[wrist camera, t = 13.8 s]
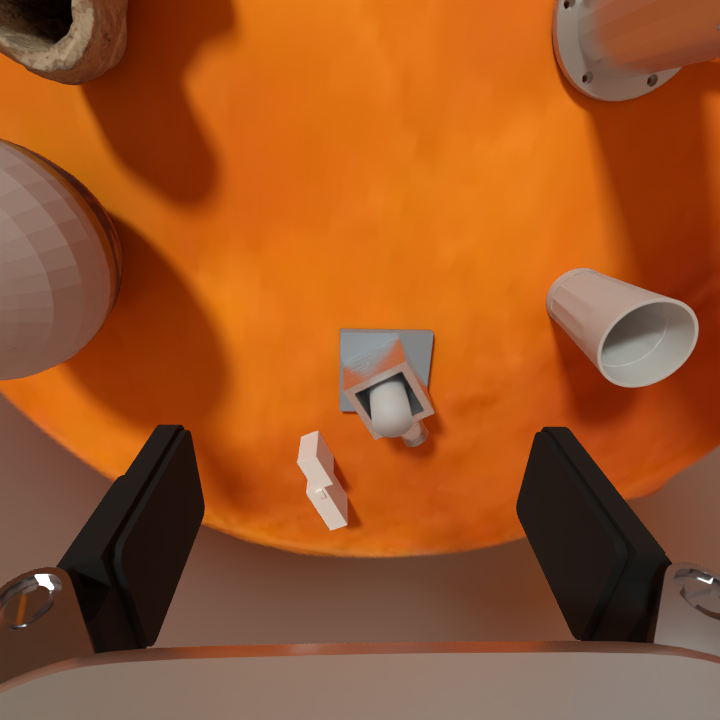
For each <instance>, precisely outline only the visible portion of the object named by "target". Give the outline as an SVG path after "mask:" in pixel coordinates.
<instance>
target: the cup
mask: <svg viewBox="0 0 720 720" xmlns="http://www.w3.org/2000/svg"><path fill="white" fill-rule="evenodd" d="M546 308H547V312H548V314H549V316H550V317H551V318H552V319H553V320H554V321H555V322H557V323H558V324H559V326H560V327H561V328H562V329H563V330H564V331H565V332H566V333H567V335H568V336H569V337H570V338H571V339H572V340H573V341H574V342H575V344H576V345H577V346H578V347H579V348H580V349H581V350H582V351H583V352H584V354H585V355H586V356H587V357H588V358H589V359H590V360H591V362H592V363H593V364H594V365H595V366H596V368H597V369H598V370H599V371H600V372H601V373H602V375H603V376H604V377H605V378H606V379H607V380H609V381H610V382H612V383H613V384H616V385H618V386H622V387H631V388H634V387H643V386H647V385H651V384H654V383H656V382H658V381H661V380H663V379H664V378H666V377H668V376H669V375H671V374H672V373H673V372H675V371H676V370H677V369H678V368H679V367H680V366H681V365H682V364H683V363H684V362H685V361H686V360H687V359H688V357H689V356H690V354H691V353H692V351H693V349H694V347H695V345H696V342H697V338H698V332H699V326H698V320H697V317H696V315H695V313H694V312H693V310H692V309H691V308H690V307H689V306H688V305H686V304H685V303H683V302H681V301H678V300H675V299H672V298H669V297H666V296H663V295H660V294H657V293H654V292H651V291H648V290H646V289H643V288H640V287H637V286H634V285H632V284H629V283H626V282H623V281H620V280H618V279H615V278H612V277H609V276H606V275H603V274H601V273H599V272H597V271H595V270H592V269H589V268H578V269H574V270H571V271H568V272H566V273H565V274H563V275H562V276H560V277H559V278H558V279H557V280H556V281H555V282H554V283H553V285H552V286H551V288H550V289H549V292H548V294H547V298H546Z"/></svg>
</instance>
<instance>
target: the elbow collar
mask: <svg viewBox="0 0 720 720" xmlns="http://www.w3.org/2000/svg"><path fill="white" fill-rule="evenodd" d="M401 371H402V372H403V374H404V376H405V377H406V379H407V381H408V383H409V384H408V385H406V386H405V389H406V393H407V397H408V401H409V405H410V409H411V413H412V418H413V422H412V426H411V428H410V429H409V430H408V431H407V432H406V433H405V434H403V435H401V436H400V438H401V439H402V441H403V443H404V444H405V445H406V446H408V447H415V446H418V445H420V444H421V443H423V442H424V441H425V440H426V439H427V437H428V430H427V428H426V427H425V425H424V423H423V421H422V420H421V419H423V418H425V417H427V416H430V415H432V414H434V413H435V412H434V409H433V406H432V403H431V400H430V397H429V394H428V391H427V388H426V385H425V382H424V380H423V379H422V377H421V375H420V373H419V371H418V369H417V368H416V366H415V364H414V362H413V360H412V358H411V357H410V355H409V353H408V351H407V349H406V347H405V346H404V344H403V342H402V340H401V338H400V336H399V335H398V336H396V337H394V338H392V339H390V340H388V341H386V342H384V343H382V344H380V345H378V346H376V347H374V348H372V349H370V350H368V351H366V352H364V353H362V354H360V355H358V356H356V357H354V358H352V359H350V360H348V361H346V362H344V363H343V392H344V393H345V395H346V396H347V398H348V400H349V401H350V403H351V404H352V406H353V407H354V409H355V410H356V412H357V413H358V415H359V416H360V418H361V419H362V421H363V422H364V424H365V425H366V427H367V428H368V430H369V431H370V433H371V434H372V436H373V437H374V439H375V440H376V439H378V438H381V437H383V436H381V435H379V434H378V433H377V432H376V431H375V430H374V428H373V426H372V418H371V407H370V396H369V390H368V387H370V386H372V385H374V384H376V383H378V382H380V381H382V380H384V379H387V378H389V377H391V376H393V375H395V374H397V373H399V372H401Z"/></svg>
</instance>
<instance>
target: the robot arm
mask: <svg viewBox="0 0 720 720" xmlns="http://www.w3.org/2000/svg"><path fill="white" fill-rule="evenodd" d="M564 2H565V3H566V4H567V8H566V9H565V7H564ZM552 35H553V47H554V51H555V54H556V58H557V62H558V64H559V66H560V68H561V70H562V72H563V74H564V76H565V77H566V79H567V80H568V81H569V82H570V84H571V85H572V86H573V87H574V88H575V89H577V90H578V91H579V92H580V93H582V94H583V95H585V96H588V97H590V98H592V99H595V100H600V101H606V102H613V101H624V100H629V99H634V98H637V97H640V96H642V95H645V94H647V93H650V92H651V91H653V90H655V89H656V88H658V87H660V86H661V85H663V84H665V83H666V82H667V81H668V80H669V79H671V78H672V77H673V76H674V75H675V74H676V73H678V72H679V71H680V69H681V68H682V67H683V66H687V65H691V64H696V63H700V62H704V61H709V60H713V59H718V58H720V0H556V1H555V6H554V10H553V23H552ZM583 76H584V77H585V80H584V82H582V77H583ZM647 80H648V83H647ZM516 509H517V515H518V518H519V520H520V522H521V524H522V527H523V529H524V531H525V533H526V535H527V537H528V540H529V542H530V544H531V546H532V548H533V550H534V553H535V555H536V557H537V559H538V561H539V564H540V566H541V568H542V570H543V572H544V574H545V577H546V579H547V581H548V583H549V585H550V587H551V590H552V592H553V594H554V596H555V598H556V600H557V603H558V605H559V607H560V609H561V611H562V613H563V616H564V618H565V620H566V622H567V624H568V627H569V629H570V630H571V633H572V635H573V636H574V637H575V639H577V640H581V641H491V642H490V641H486V642H485V641H484V642H403V643H402V642H401V643H336V644H288V645H287V644H284V645H239V646H238V645H236V646H200V647H174V648H150V649H146V647H147V646H152V645H154V643H155V642H156V640H157V637H158V635H159V632H160V629H161V627H162V624H163V621H164V619H165V616H166V614H167V611H168V608H169V606H170V603H171V601H172V598H173V595H174V593H175V590H176V587H177V585H178V582H179V580H180V577H181V574H182V572H183V569H184V567H185V564H186V561H187V558H188V556H189V553H190V551H191V548H192V546H193V543H194V540H195V538H196V535H197V532H198V530H199V527H200V525H201V522H202V519H203V516H204V510H205V505H204V499H203V493H202V488H201V483H200V478H199V473H198V467H197V462H196V457H195V452H194V446H193V441H192V436H191V432H190V431H189V430H184V427H183V426H182V425H158V426H157V427H156V428H155V430H154V431H153V433H152V434H151V436H150V437H149V439H148V440H147V442H146V443H145V445H144V446H143V448H142V449H141V451H140V452H139V454H138V455H137V457H136V458H135V460H134V461H133V463H132V464H131V466H130V467H129V469H128V470H127V472H126V473H125V475H122V476H120V477H118V478H117V479H116V481H115V482H114V483H113V485H112V486H111V488H110V489H109V490H108V492H107V493H106V495H105V496H104V498H103V499H102V501H101V502H100V504H99V505H98V507H97V508H96V510H95V511H94V512H93V514H92V515H91V517H90V518H89V520H88V521H87V523H86V524H85V526H84V527H83V528H82V530H81V531H80V533H79V534H78V536H77V537H76V539H75V540H74V542H73V543H72V545H71V546H70V547H69V549H68V550H67V552H66V554H65V555H64V556H63V558H62V559H61V561H60V562H59V564H58V565H57V566H56V567H43V568H38V569H34V570H31V571H28V572H26V573H23V574H21V575H19V576H17V577H15V578H14V579H12V580H10V581H9V582H7V583H6V584H5V585H3V586H2V587H1V588H0V720H720V575H719V574H717V573H715V572H713V571H712V570H710V569H708V568H705V567H702V566H700V565H697V564H693V563H687V562H679V563H674V564H672V562H671V561H670V560H669V559H668V557H667V556H666V555H665V552H664V550H663V549H662V548H661V547H660V545H659V544H658V543H657V541H656V540H655V539H654V537H652V535H651V534H650V532H649V531H648V530H647V528H646V527H645V526H644V525H643V523H642V522H641V521H640V520H639V519H638V517H637V516H636V514H635V513H634V512H633V511H632V509H631V508H630V507H629V505H628V504H627V503H626V502H625V500H624V499H623V498H622V496H621V495H620V494H619V493H618V491H617V490H616V489H615V487H614V486H613V485H612V484H611V482H610V481H609V480H608V478H607V477H606V476H605V475H604V473H603V472H602V471H601V469H600V468H599V467H598V466H597V464H596V463H595V462H594V461H593V459H592V458H591V457H590V455H589V454H588V453H587V452H586V450H585V449H584V448H583V446H582V445H581V444H580V443H579V441H578V440H577V439H576V437H575V436H574V435H573V434H572V432H571V431H570V430H569V429H568V428H567V427H543V429H542V430H541V432H537V433H536V434H535V437H534V440H533V444H532V448H531V452H530V455H529V459H528V463H527V466H526V470H525V474H524V478H523V481H522V485H521V489H520V493H519V496H518V500H517V505H516Z"/></svg>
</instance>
